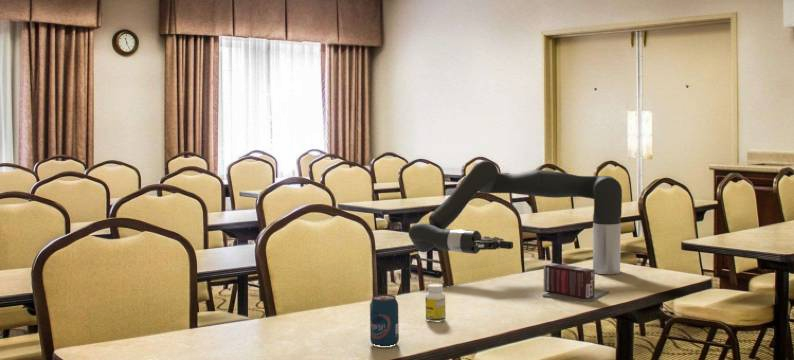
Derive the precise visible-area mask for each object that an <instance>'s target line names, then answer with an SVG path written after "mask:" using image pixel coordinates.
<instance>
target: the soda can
mask: <svg viewBox="0 0 794 360" xmlns="http://www.w3.org/2000/svg"><path fill="white" fill-rule="evenodd" d="M371 298H372V299H371V301H370V303H369V320H370V321H369V326H370V327H369V329H370V333H369V334H370V339H369V340H370V342H371V344H372V345H373V344H375V345H380V346H390V345H394V344H396V345H398V342H399V337H400V335H399V332H400V331H399V327H400V326H399V302H398V301H397V297H396V296H395V295H392V294H377V295H373V296H372V297H371Z"/></svg>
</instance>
